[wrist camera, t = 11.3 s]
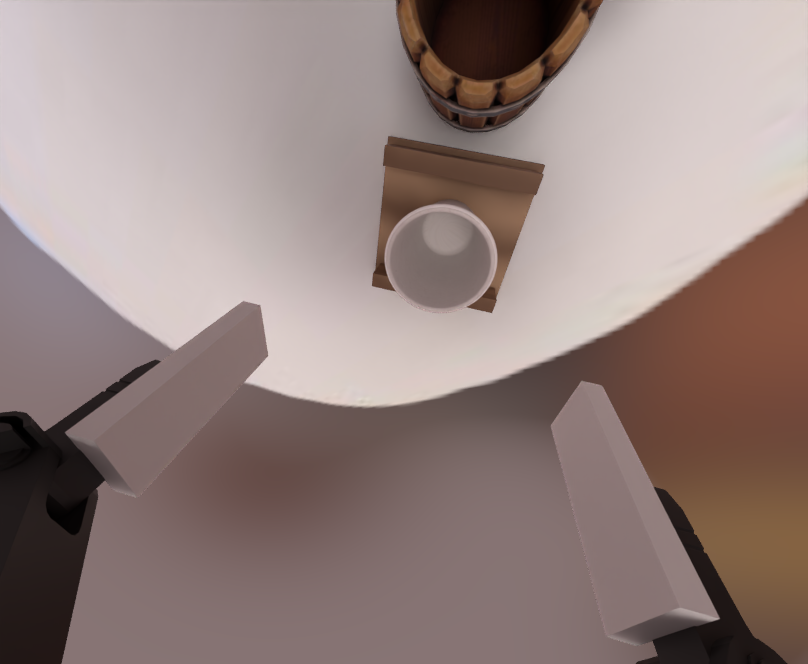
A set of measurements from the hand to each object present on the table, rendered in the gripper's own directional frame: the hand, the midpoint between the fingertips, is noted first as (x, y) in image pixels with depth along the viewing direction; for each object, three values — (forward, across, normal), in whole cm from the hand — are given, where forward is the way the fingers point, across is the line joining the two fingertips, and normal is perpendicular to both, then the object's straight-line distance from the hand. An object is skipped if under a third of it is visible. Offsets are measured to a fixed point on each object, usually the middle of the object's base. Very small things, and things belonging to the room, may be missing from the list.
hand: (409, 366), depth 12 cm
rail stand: (+22, 0, 0) cm, 23 cm away
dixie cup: (+22, 0, 0) cm, 22 cm away
